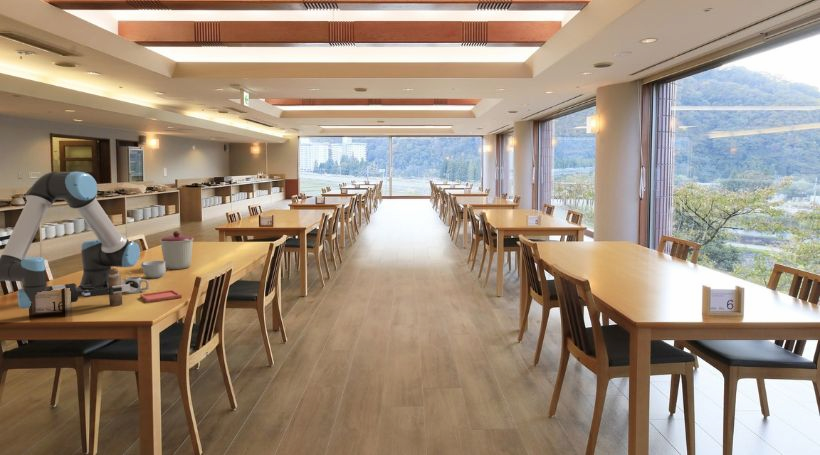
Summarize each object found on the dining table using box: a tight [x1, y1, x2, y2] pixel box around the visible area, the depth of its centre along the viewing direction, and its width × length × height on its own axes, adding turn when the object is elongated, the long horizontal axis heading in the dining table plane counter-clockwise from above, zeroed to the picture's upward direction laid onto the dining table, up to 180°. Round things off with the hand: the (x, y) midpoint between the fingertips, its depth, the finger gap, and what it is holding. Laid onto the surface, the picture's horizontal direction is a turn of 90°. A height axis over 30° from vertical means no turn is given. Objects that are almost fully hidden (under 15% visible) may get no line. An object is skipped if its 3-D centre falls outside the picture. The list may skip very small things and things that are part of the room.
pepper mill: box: [108, 267, 123, 307], centre depth 232 cm, size 5×5×16 cm
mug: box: [124, 276, 150, 295], centre depth 255 cm, size 10×7×7 cm, turn 101°
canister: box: [158, 230, 195, 270], centre depth 312 cm, size 18×18×21 cm
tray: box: [139, 289, 183, 304], centre depth 244 cm, size 12×14×2 cm
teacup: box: [140, 259, 167, 279], centre depth 289 cm, size 14×11×8 cm
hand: (127, 285), depth 235 cm, fingers open, 8 cm apart
